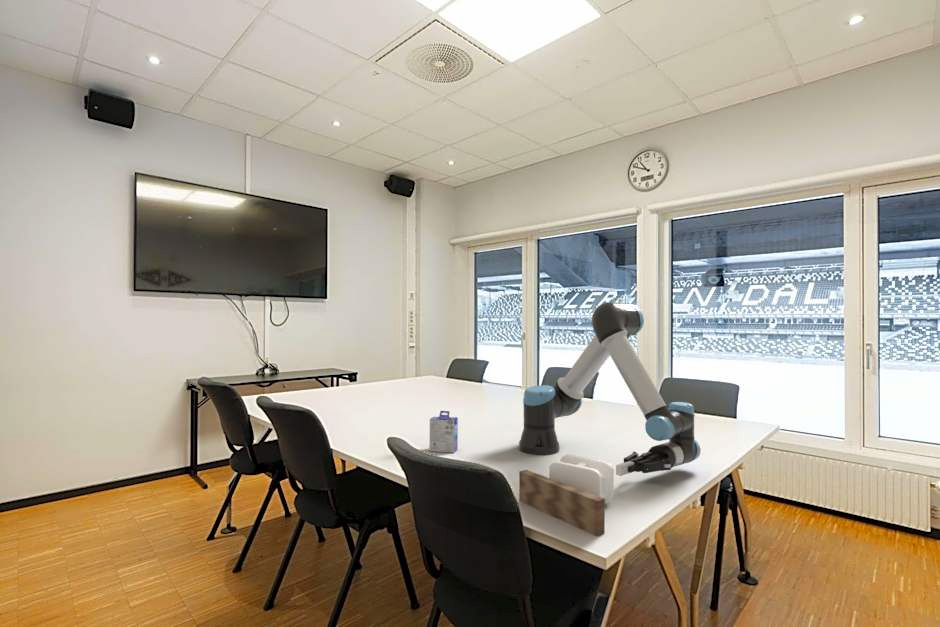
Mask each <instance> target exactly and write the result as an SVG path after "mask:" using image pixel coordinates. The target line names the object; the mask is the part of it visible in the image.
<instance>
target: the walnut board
mask: <svg viewBox="0 0 940 627" xmlns="http://www.w3.org/2000/svg"><path fill="white" fill-rule="evenodd" d="M518 473H519V476H518V477H519V479H518V480H519V486H518V487H519V490H518V491H519V494H518V495H519V497H518V498H519V499H518V500H519V502H521V503H523V504H525V505H527V506H529V507H532V508H534V509H537V510H539V511H541V512H542V513H545V514H547V515H550V516H551V515H552V517H554V518H556V519H558V520H560V521H563V522H565V523H566V524H569V525H571V526H574V527H575V528H577V529H581V530H583V531H585V532H587V533H589V534H592V535H594V536H596V537H599V536H601V535H604V534H605V531H606V530H605V529H606V528H605V524H606V522H605V516H606V515H605V508H606V507H605V505H606V504H605V499H604V498H601V497H599V496H596V495H593V494H590V493H588V492H585V491H582V490H580V489H577V488H574V487H572V486H569V485H566V484H563V483H561V482H558V481H555V480H553V479H550V478H549V477H547V476H544V475H543V474H542V475H541V474H538V473H536V472H533V471H531V470H528V469H523V470H520V471H519V472H518Z"/></svg>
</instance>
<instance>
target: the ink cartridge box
mask: <svg viewBox="0 0 940 627" xmlns="http://www.w3.org/2000/svg"><path fill="white" fill-rule="evenodd" d="M444 413H445V414H444ZM458 425H459V419H458V417H455V416H450V410H440V413H439V416H432V417H431V418H429V449H428V450H429V452H439V453H451V454H452V453H455V452H456V451H458V450H459V448H458V447H459V446H458V445H459V444H458V441H459V440H458V439H459V438H458V437H459V435H458V433H459V432H458V431H459V427H458Z"/></svg>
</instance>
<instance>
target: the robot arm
mask: <svg viewBox="0 0 940 627" xmlns="http://www.w3.org/2000/svg"><path fill="white" fill-rule="evenodd" d="M644 320H645V319H644V314H643V312H642V311H641V309H640V308H639V306H637V305H636V304H633V303H629V302H612V301H608V302H603V303H601V304H600V305H598V306H597V307H596V308H595V310H594V311H593V313H592V316H591V325H592V326H591V327H592V331H593V333H594V334H595V335H594V337H593V338H592V339H591V340H590V342H589V343H588V345H587V346H586V347H585V349H584V350H583V351H582V353H581V354H580V355H579V357H578V358H577V359H576V361H575V362H574V364H573V365H572V366H571V368H570V369H569V371H568V372H567V373H566V375H565V376H564V377H559V378H558V379H557V380H556V382H555V383H554V385H553V386H552V385H546V384H545V385H544V384H540V385H533V386H530V387H527V388H526V389H524V393H523V430H522V432H521V436H520V440H519V442H518V448H519V450H520V451H521V452H524V453H527V454H532V455H552V454H555V453H558V452H559V451H560V443H559V441H558V436H557V433H556V430H555V428H556V427H555V425H556V424H555V423H556V422H555V420H556V419H557V418H562V417H569V416H571V415H574V414H576V413H577V412H578V411H579V410H580V409H581V406H582V404H583V401H582V399H584V395H585V394H584V390H585V389H586V387H587V386H588V385H589V384H590V382H591V381H592V379H593V378H594V377H595V376H596V374H597V373H598V372H599V371H600V369H601V368H602V367H603V365H604V364H605V362H607V360H608V358H609V357H610V358H611V360H612V361H613V363H614V365H615V367H616V369H617V370H618V372H619V374H620V375H621V377H622V379H623V382H625V384H626V386H627V388H628V390H629V392H630V393H631V395H632V397H633V398H634V400H635V402H636V404H637V405H638V407H639V410H640V411H641V412H642V414H643V416H644V418H645V420H646V422H645V426H644V427H645V433H646V434H647V435H648V437H649V438H651V439H652V440H654V441H657V442H661V441H667V440H669V441H667V442H664V443H661V444H657V445H653V446H652V447H650V448H649V450H648V451H647V452H643V453H641V454H639V453H638V452H636V451H632V453H630V454H629V455H627V456H626V457H623V462H622V463H619V464H616V465H615V475H616V476H618V477H622V476H624V475H628V474H632V473H634V472H637V473H639V472H641V473H642V474H648V473H655V472H661V471H662V472H663V471H671V470H672V469H673V468H675V467H679V466H681V465H685V464H688V463H691V462H693V461H695V460H697V459H698V458H699V457H700V455H701V446H700V444H699V442H698V441H697V440H696V439H695V418H696V417H695V410H694V409H695V408H694V405H693V404H692V403H689V402H684V401H683V402H682V401H672V402H670V403H669V404H668V406H667V404H666V402H665V401H664V398H663V397H662V396H661V394H660V392H659V390H658V389H657V387H656V386H655V384H654V382H653V380H652V378H651V376H650V375H649V374H648V371H647V369H646V368H645V366H644V365H643V363H642V361H641V359H640V358H639V356H638V354H637V352H636V350H635V349H634V347H633V346H632V344H631V342H630V341H629V339H630V337H631V336H634V335H636V334H639V333H640V332H641V331H642V329H643V327H644V322H645V321H644Z"/></svg>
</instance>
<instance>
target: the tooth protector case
mask: <svg viewBox="0 0 940 627" xmlns="http://www.w3.org/2000/svg"><path fill="white" fill-rule="evenodd" d="M548 470H549V472H548V473H549V476H548V478H550V479H553V480H555V481H558V482H561V483H563V484H566V485H569V486H572V487H574V488H577V489H580V490H582V491H585V492H588V493H590V494H593V495H596V496H599V497H601V498H604V499H605V505H608V504H610V503H611V502H612V501H613V500H614V498H615V497H614V496H615V495H614V488H615V487H614V484H615V483H614V482H615V480H614V479H615V478H614V473H615V472H614V471H615V470H614V466H613V465H612V464H611V463H610V462H608V461H607V460H606V461H605V460H599V459H597V458H590V457H585V456H580V455H575V454H565V455H563V456H561V458H560V460H559V461H553V462H552V463H550V465H549V468H548Z"/></svg>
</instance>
